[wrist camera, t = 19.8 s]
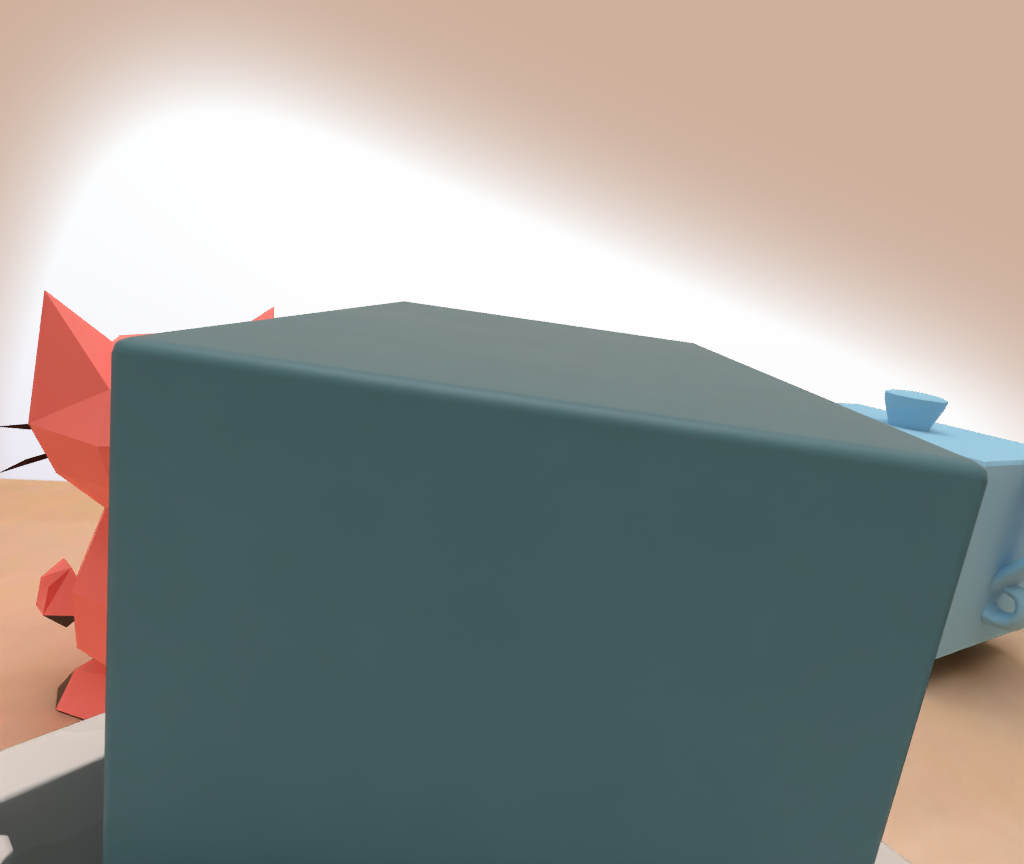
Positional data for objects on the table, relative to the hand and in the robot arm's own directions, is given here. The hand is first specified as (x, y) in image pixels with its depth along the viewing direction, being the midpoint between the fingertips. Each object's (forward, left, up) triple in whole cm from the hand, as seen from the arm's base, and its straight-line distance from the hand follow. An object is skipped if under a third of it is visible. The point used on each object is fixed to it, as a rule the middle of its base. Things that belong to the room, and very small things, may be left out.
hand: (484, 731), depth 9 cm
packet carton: (0, -1, -6) cm, 6 cm away
